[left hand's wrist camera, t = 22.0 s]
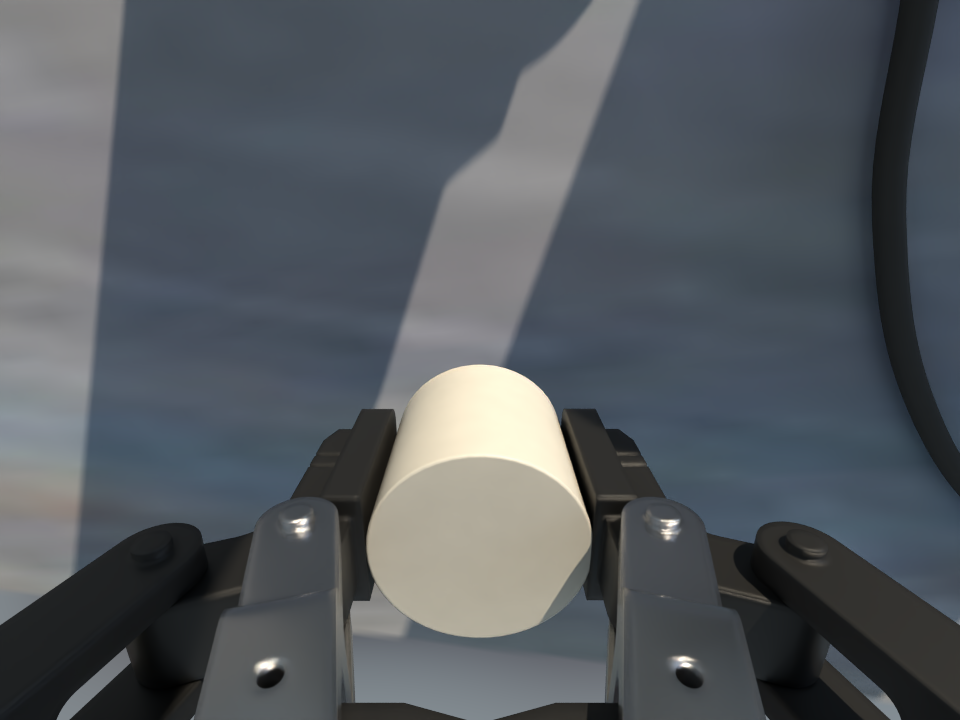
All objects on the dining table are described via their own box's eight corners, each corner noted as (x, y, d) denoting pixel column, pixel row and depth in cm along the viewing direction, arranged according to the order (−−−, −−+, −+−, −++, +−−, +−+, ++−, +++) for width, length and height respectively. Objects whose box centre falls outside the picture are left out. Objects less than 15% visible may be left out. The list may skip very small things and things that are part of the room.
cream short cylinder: (461, 530, 14) (455, 669, 10) (366, 421, 12) (316, 531, 9) (589, 455, 13) (636, 576, 9) (501, 332, 12) (511, 410, 8)
